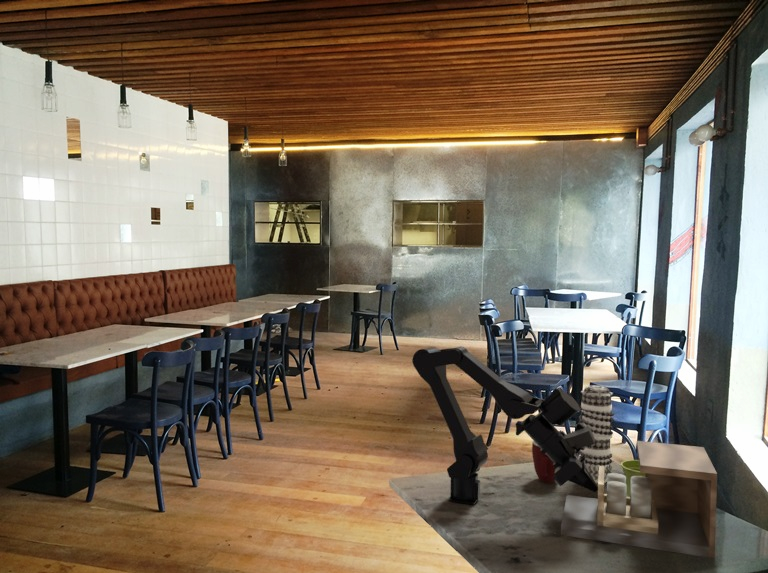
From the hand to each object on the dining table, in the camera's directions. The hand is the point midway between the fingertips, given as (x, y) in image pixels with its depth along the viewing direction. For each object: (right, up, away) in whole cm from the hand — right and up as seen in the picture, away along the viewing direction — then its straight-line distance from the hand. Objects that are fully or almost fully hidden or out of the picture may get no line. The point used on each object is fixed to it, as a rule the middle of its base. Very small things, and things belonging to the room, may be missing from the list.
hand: (597, 490), depth 139 cm
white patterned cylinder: (+10, -7, +30) cm, 32 cm away
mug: (-4, -7, +26) cm, 27 cm away
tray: (+6, -5, -2) cm, 8 cm away
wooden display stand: (+7, -8, -2) cm, 11 cm away
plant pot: (+15, -7, +14) cm, 22 cm away
